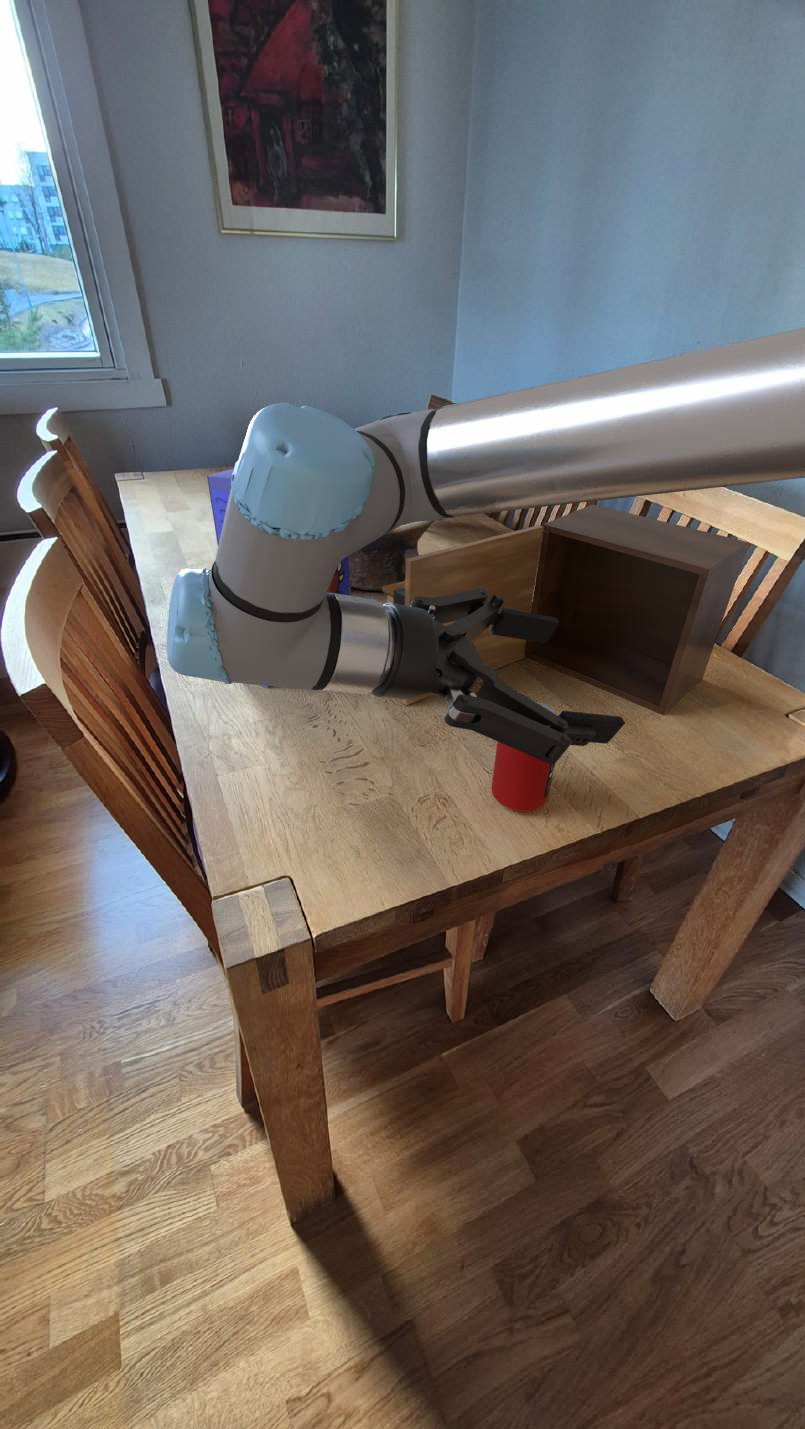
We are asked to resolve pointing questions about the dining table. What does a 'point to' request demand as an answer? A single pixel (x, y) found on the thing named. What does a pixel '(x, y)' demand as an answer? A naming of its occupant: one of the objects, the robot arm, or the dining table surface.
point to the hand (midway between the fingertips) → (580, 676)
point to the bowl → (386, 557)
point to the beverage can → (521, 778)
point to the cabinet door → (480, 583)
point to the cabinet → (632, 602)
